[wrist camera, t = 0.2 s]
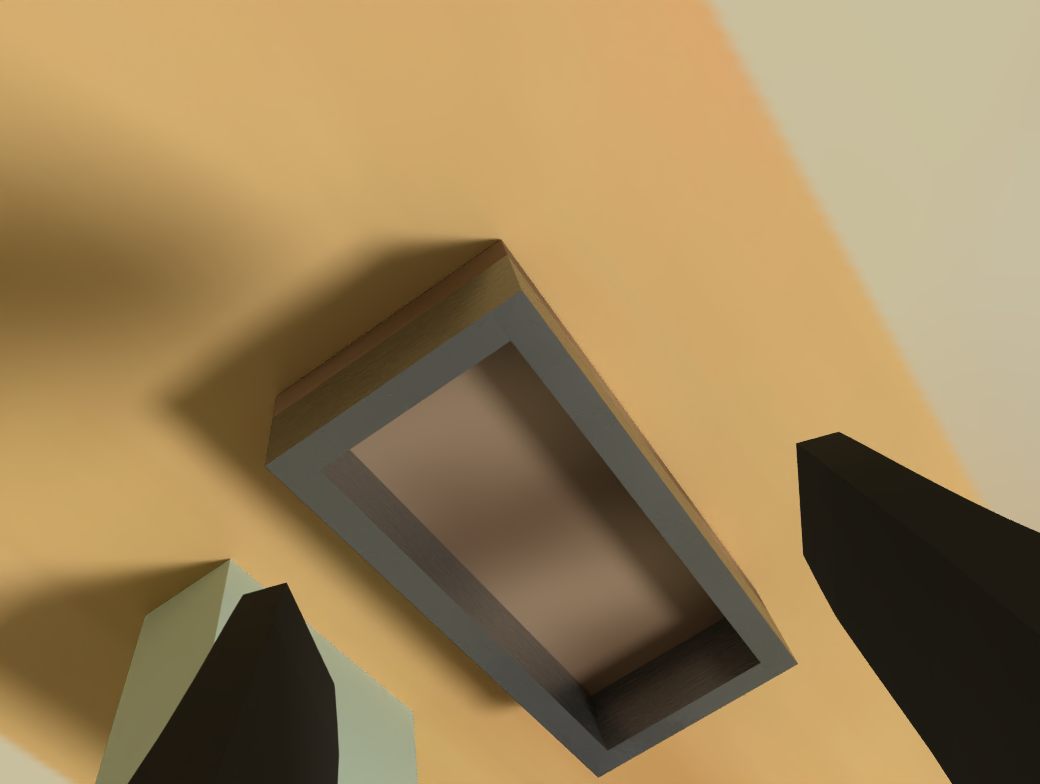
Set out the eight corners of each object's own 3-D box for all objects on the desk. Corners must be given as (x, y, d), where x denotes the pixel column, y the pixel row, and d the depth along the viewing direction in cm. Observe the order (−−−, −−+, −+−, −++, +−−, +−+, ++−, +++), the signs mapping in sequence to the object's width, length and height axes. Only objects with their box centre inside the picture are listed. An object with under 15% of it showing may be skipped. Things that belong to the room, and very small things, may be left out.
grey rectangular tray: (756, 590, 27) (797, 663, 24) (575, 696, 28) (598, 777, 25) (500, 239, 20) (521, 289, 18) (276, 396, 21) (265, 466, 19)
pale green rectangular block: (412, 709, 27) (425, 899, 22) (336, 756, 28) (331, 952, 23) (230, 556, 23) (194, 744, 18) (145, 614, 24) (86, 812, 19)
